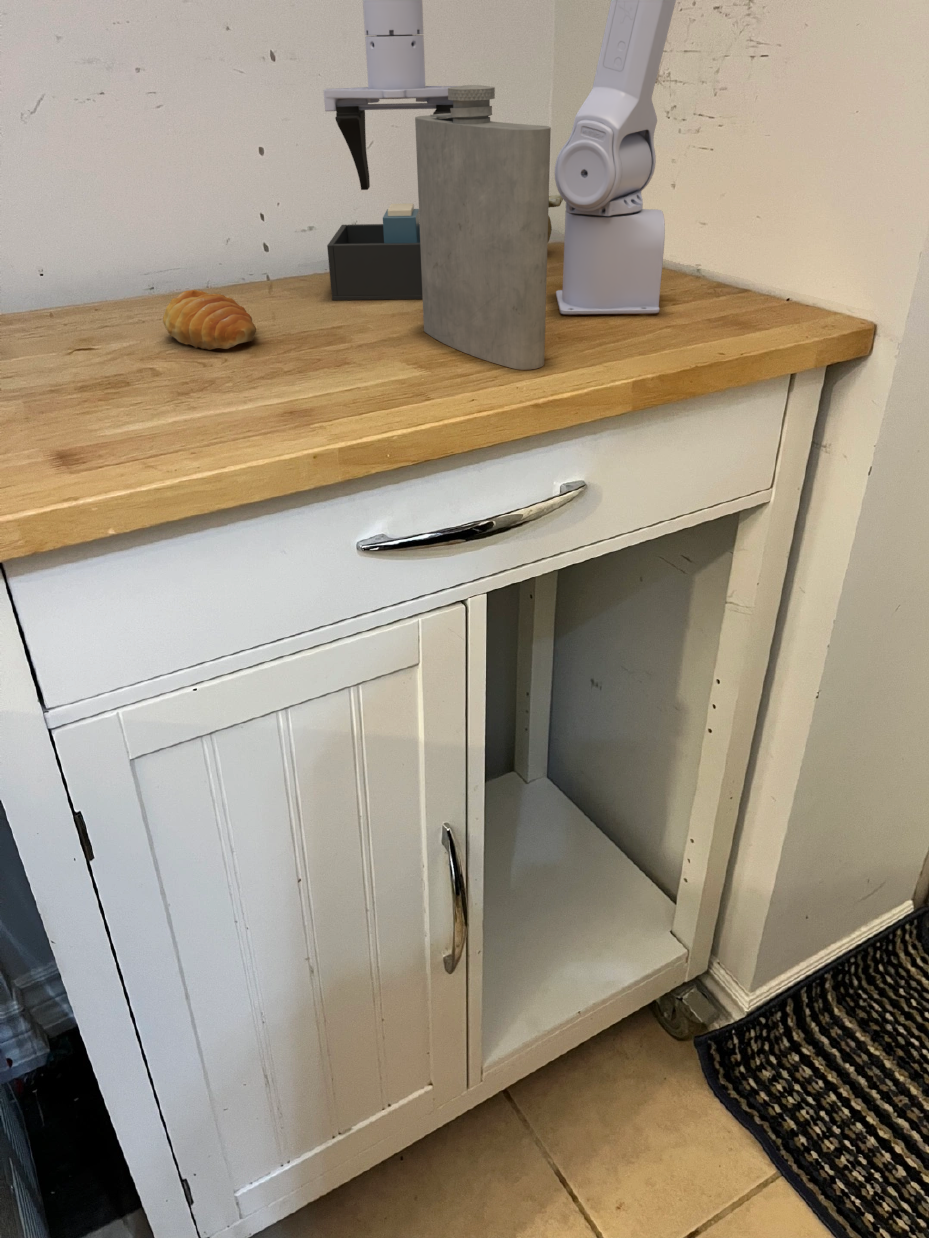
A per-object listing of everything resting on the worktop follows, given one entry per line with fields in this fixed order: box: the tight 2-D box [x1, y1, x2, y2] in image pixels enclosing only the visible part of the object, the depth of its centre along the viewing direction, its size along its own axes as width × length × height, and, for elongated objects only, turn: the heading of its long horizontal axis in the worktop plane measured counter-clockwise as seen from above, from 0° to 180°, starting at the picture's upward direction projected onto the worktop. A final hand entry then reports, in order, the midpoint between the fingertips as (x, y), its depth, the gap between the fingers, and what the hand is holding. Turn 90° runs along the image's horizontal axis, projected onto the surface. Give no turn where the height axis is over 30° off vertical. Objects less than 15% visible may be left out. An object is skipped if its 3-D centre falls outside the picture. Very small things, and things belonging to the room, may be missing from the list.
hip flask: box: [414, 84, 552, 371], centre depth 77 cm, size 16×4×20 cm, turn 34°
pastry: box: [162, 289, 257, 351], centre depth 84 cm, size 9×7×4 cm
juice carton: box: [382, 203, 420, 243], centre depth 99 cm, size 3×5×8 cm
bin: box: [326, 223, 423, 301], centre depth 100 cm, size 14×11×5 cm
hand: (401, 188), depth 99 cm, fingers open, 7 cm apart
